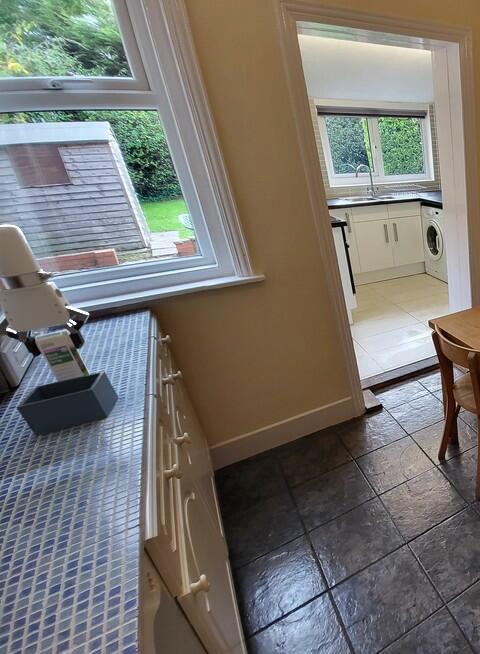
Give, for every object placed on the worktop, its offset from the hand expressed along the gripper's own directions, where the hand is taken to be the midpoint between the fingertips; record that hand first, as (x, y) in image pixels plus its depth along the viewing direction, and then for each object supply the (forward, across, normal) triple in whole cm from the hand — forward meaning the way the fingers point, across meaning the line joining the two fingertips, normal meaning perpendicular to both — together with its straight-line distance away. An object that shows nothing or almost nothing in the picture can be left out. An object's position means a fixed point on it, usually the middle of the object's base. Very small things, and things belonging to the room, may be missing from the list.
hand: (59, 350), depth 101 cm
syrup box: (+10, 0, 0) cm, 10 cm away
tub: (+12, -3, +14) cm, 19 cm away
